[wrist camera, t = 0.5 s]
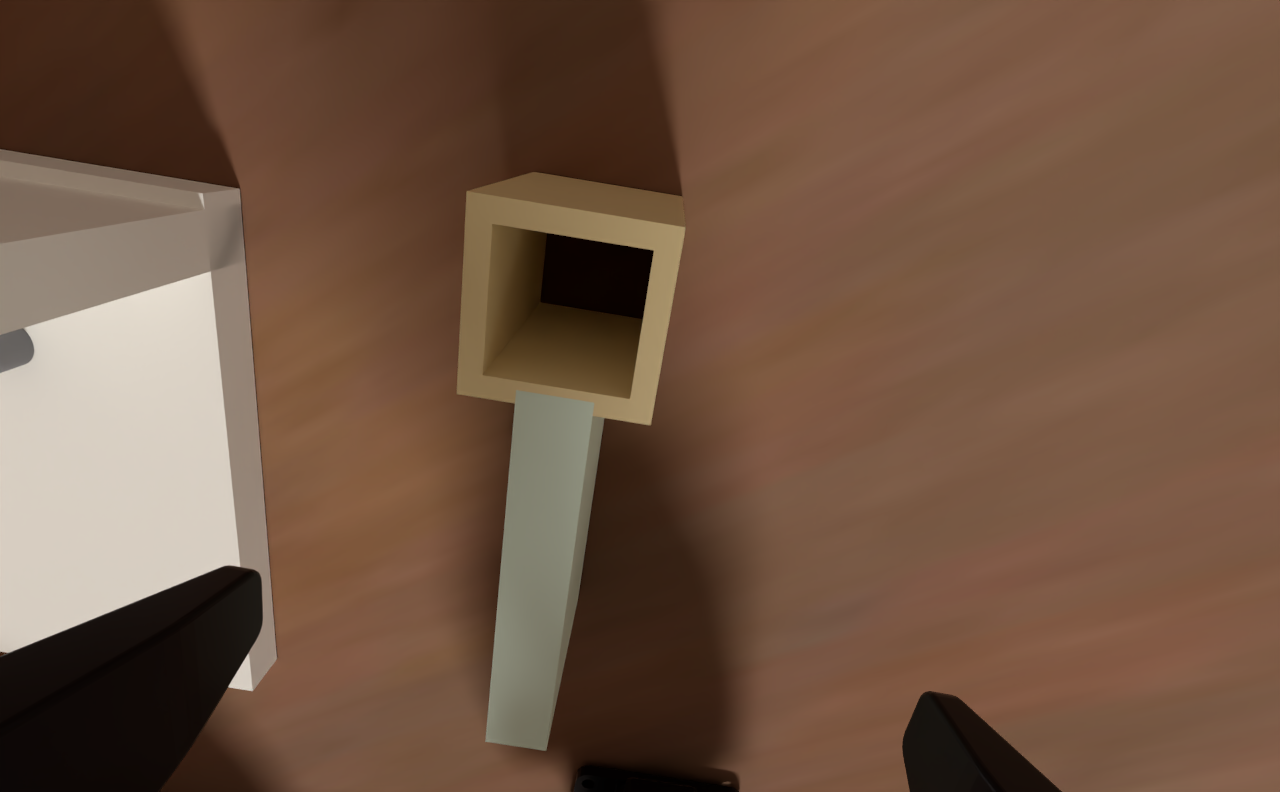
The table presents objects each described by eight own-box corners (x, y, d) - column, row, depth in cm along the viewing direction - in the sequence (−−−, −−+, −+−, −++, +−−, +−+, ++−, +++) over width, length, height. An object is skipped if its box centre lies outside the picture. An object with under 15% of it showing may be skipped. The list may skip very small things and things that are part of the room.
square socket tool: (612, 603, 23) (591, 757, 17) (498, 585, 22) (439, 734, 17) (682, 196, 17) (685, 227, 12) (533, 171, 17) (466, 191, 12)
